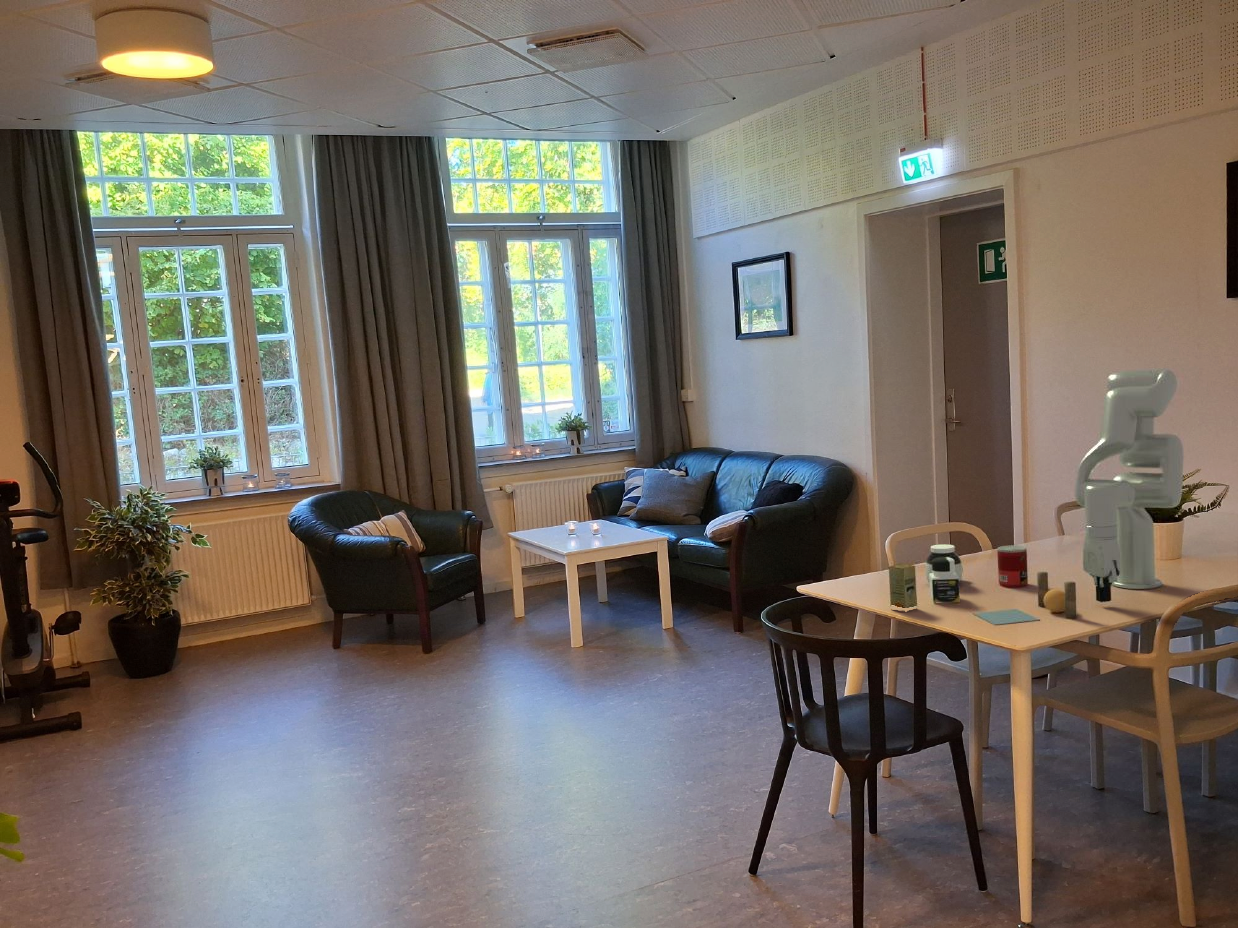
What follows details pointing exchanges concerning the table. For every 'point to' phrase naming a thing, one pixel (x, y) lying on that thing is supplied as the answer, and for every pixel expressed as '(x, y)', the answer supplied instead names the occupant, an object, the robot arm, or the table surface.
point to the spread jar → (944, 552)
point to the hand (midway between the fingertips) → (1103, 600)
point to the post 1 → (1042, 587)
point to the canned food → (1012, 566)
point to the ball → (1055, 600)
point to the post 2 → (1070, 600)
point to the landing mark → (1006, 616)
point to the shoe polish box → (902, 585)
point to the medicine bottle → (944, 581)
